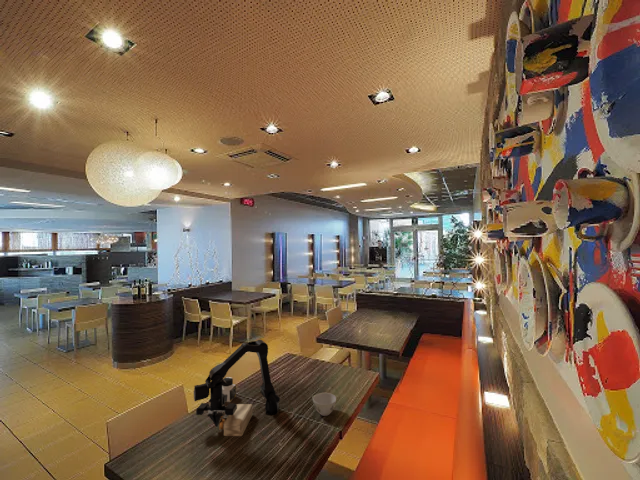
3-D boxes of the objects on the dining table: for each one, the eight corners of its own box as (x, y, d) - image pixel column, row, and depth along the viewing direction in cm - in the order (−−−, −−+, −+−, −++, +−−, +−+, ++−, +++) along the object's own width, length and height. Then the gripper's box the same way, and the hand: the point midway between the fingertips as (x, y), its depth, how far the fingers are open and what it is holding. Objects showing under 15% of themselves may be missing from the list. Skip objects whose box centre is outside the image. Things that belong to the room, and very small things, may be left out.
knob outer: (242, 426, 141) (241, 417, 141) (239, 432, 137) (238, 422, 137) (222, 425, 142) (222, 417, 142) (219, 431, 138) (218, 422, 138)
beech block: (252, 414, 152) (252, 404, 152) (241, 436, 135) (241, 424, 135) (236, 414, 153) (236, 404, 153) (223, 435, 136) (223, 424, 136)
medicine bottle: (230, 402, 164) (229, 381, 165) (219, 401, 166) (218, 380, 166) (236, 396, 171) (235, 376, 172) (225, 395, 173) (225, 375, 173)
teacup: (341, 411, 153) (340, 396, 153) (326, 423, 144) (326, 407, 144) (319, 402, 163) (319, 388, 163) (305, 412, 153) (304, 397, 153)
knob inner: (239, 415, 151) (239, 406, 151) (236, 420, 146) (236, 411, 146) (221, 414, 151) (221, 406, 151) (218, 420, 147) (218, 411, 147)
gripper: (240, 386, 148) (241, 416, 147) (205, 386, 149) (206, 416, 149) (232, 398, 137) (233, 430, 136) (195, 397, 138) (195, 429, 138)
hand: (217, 426), depth 140 cm, fingers closed
